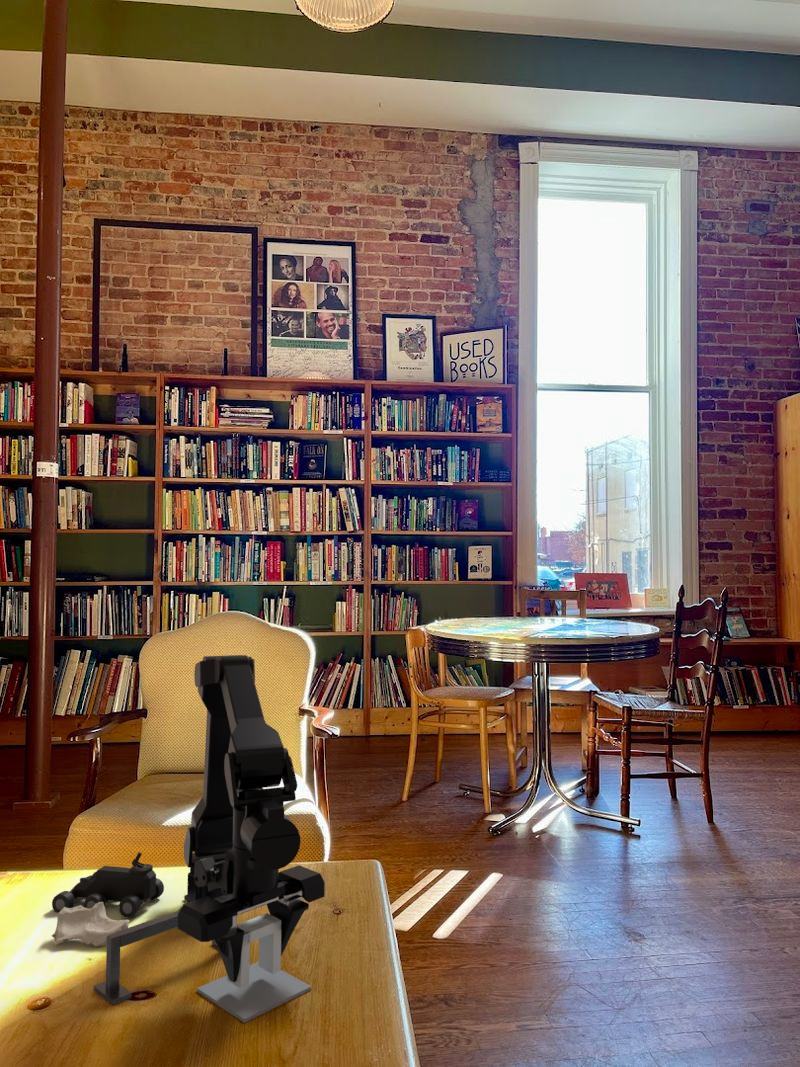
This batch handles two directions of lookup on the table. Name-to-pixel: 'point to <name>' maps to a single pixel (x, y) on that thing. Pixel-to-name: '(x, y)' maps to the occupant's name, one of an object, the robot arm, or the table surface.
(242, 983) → the c link
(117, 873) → the toy vehicle
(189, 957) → the table surface
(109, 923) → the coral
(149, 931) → the stand
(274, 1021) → the table surface
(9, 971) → the table surface
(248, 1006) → the mat
